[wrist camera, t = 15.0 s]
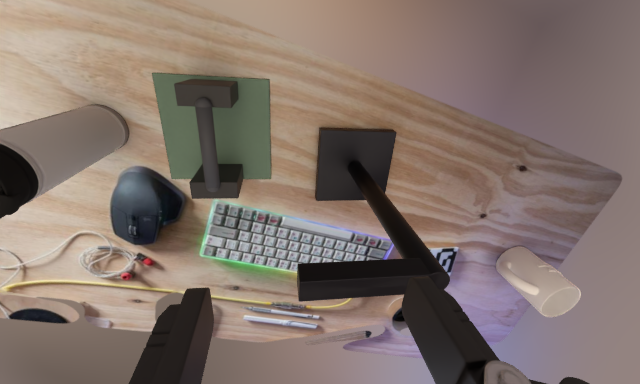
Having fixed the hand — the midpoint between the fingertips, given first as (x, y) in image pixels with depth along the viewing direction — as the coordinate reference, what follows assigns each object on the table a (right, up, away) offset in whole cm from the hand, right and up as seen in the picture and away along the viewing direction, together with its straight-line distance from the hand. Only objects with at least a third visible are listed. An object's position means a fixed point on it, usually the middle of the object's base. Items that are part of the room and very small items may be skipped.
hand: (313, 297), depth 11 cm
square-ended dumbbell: (-14, +13, +29) cm, 35 cm away
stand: (+3, +9, +35) cm, 36 cm away
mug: (+42, -11, +51) cm, 67 cm away
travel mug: (-30, +13, +27) cm, 42 cm away
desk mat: (-15, +13, +29) cm, 35 cm away
